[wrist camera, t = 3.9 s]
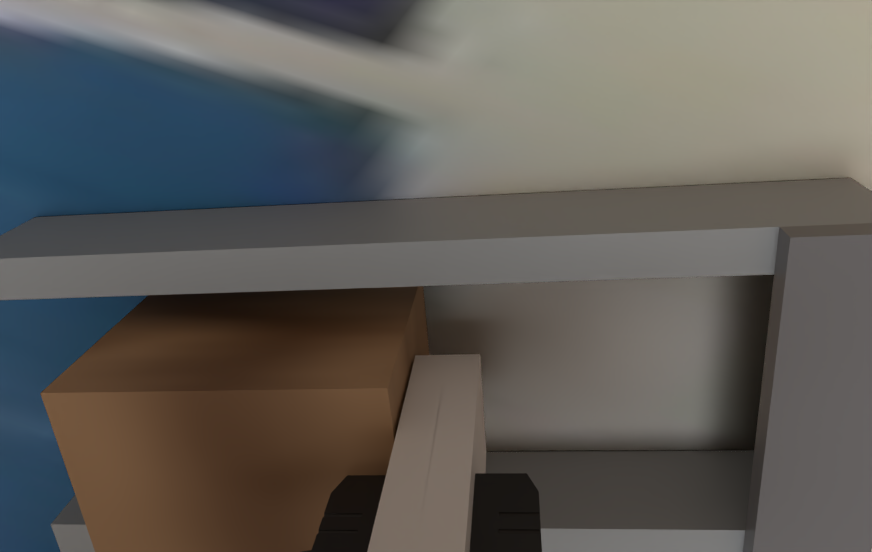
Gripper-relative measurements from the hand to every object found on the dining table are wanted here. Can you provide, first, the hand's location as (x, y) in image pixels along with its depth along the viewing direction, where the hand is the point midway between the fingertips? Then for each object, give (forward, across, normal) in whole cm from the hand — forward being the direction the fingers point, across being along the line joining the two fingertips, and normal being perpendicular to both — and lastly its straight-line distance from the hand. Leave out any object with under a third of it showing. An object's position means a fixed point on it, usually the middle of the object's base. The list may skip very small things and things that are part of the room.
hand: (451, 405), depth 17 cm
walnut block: (+3, -4, 0) cm, 5 cm away
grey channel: (+3, -1, 0) cm, 3 cm away
